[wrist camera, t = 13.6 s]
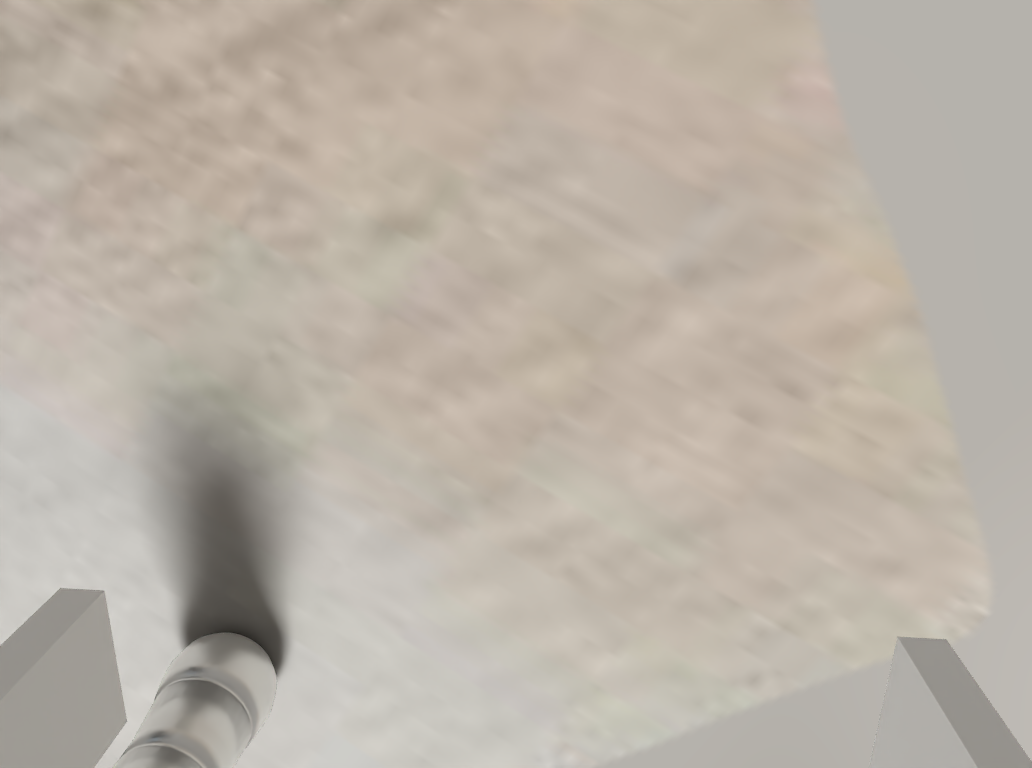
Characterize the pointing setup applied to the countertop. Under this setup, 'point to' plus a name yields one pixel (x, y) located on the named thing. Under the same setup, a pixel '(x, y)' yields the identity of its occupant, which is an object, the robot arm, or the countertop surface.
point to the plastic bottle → (206, 706)
